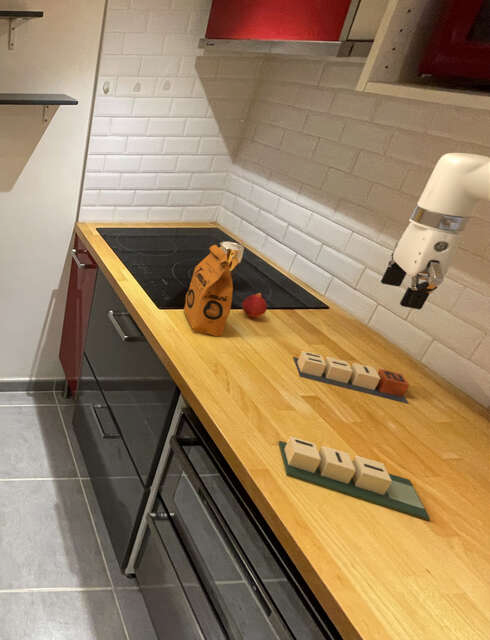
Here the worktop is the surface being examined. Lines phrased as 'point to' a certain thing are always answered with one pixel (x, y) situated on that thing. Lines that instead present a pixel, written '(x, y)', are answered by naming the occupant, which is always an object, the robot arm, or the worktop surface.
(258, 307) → the onion
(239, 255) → the beer glass
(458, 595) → the worktop surface
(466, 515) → the worktop surface
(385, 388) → the orange cube
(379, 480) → the word board
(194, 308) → the coffee package
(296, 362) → the word board
